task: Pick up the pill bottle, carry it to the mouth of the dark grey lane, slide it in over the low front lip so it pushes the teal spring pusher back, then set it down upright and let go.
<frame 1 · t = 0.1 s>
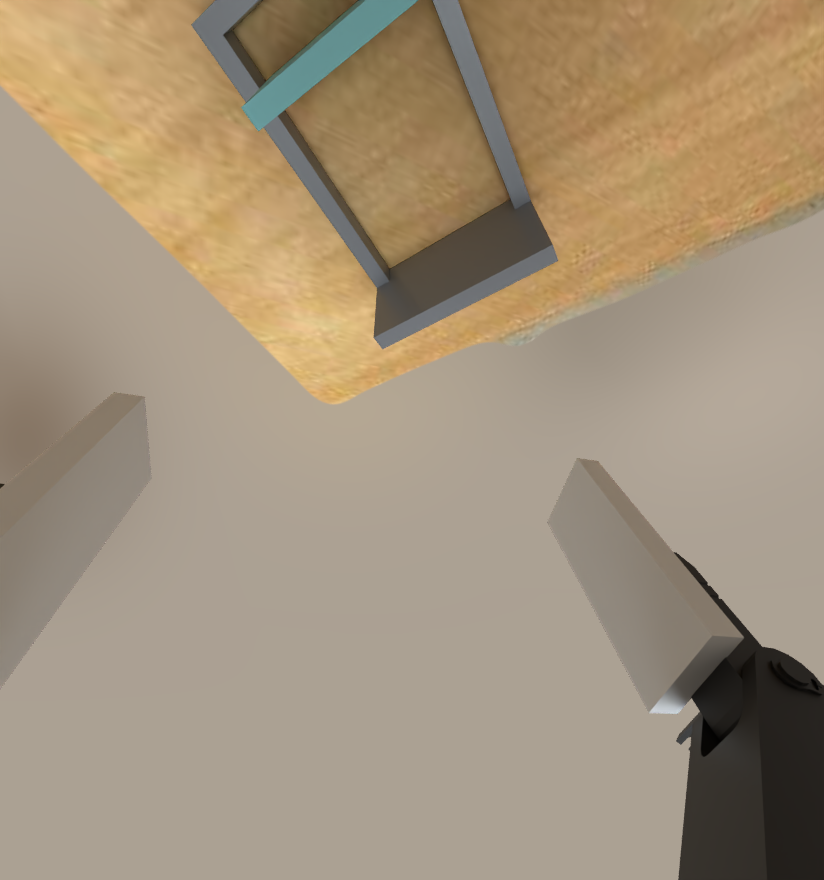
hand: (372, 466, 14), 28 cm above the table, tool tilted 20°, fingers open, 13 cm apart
lane: (388, 124, 30), on the table
pusher: (332, 44, 24), point 4 cm above the table, slide at 0.0 cm
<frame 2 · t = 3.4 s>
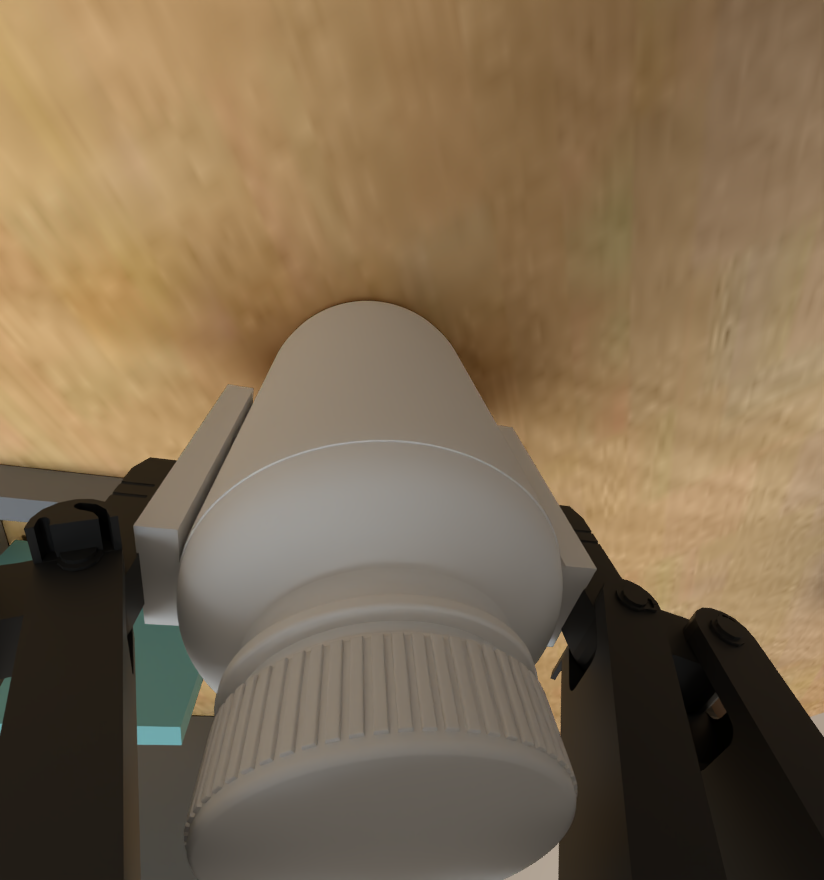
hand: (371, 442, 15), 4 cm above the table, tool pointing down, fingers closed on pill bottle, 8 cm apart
lane: (143, 625, 25), on the table
pill bottle: (370, 389, 19), on the table, touching gripper
pusher: (88, 629, 18), point 4 cm above the table, slide at 0.0 cm
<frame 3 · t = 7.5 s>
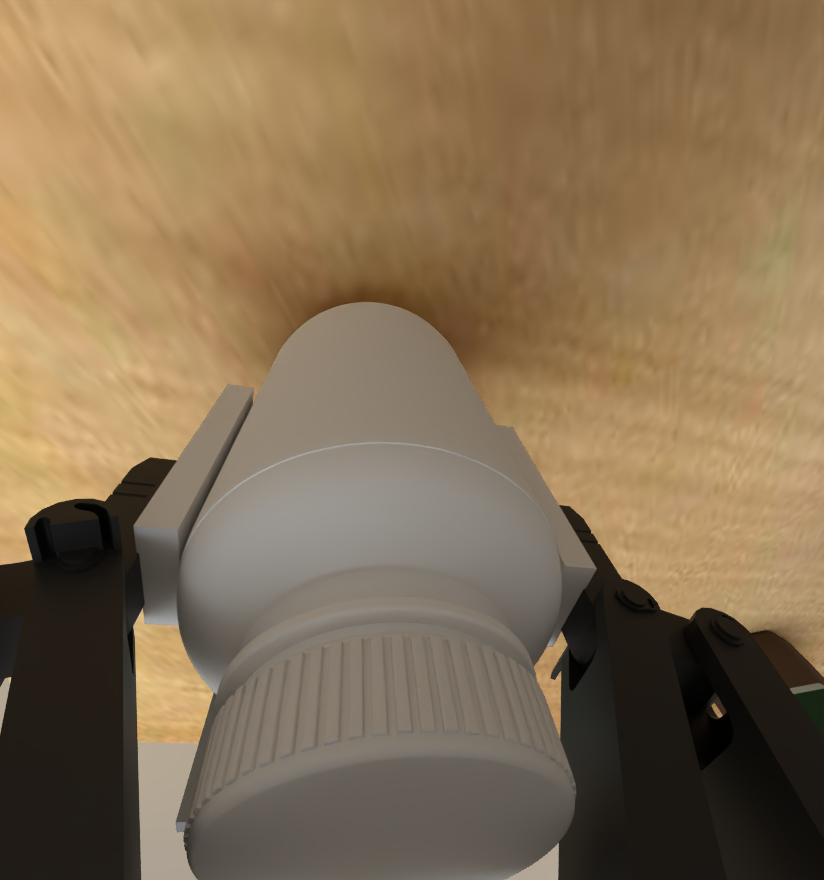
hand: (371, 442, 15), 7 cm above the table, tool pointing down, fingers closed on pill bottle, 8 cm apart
lane: (331, 586, 29), on the table
beer bottle: (740, 656, 38), on the table
pill bottle: (370, 390, 19), point 3 cm above the table, touching gripper
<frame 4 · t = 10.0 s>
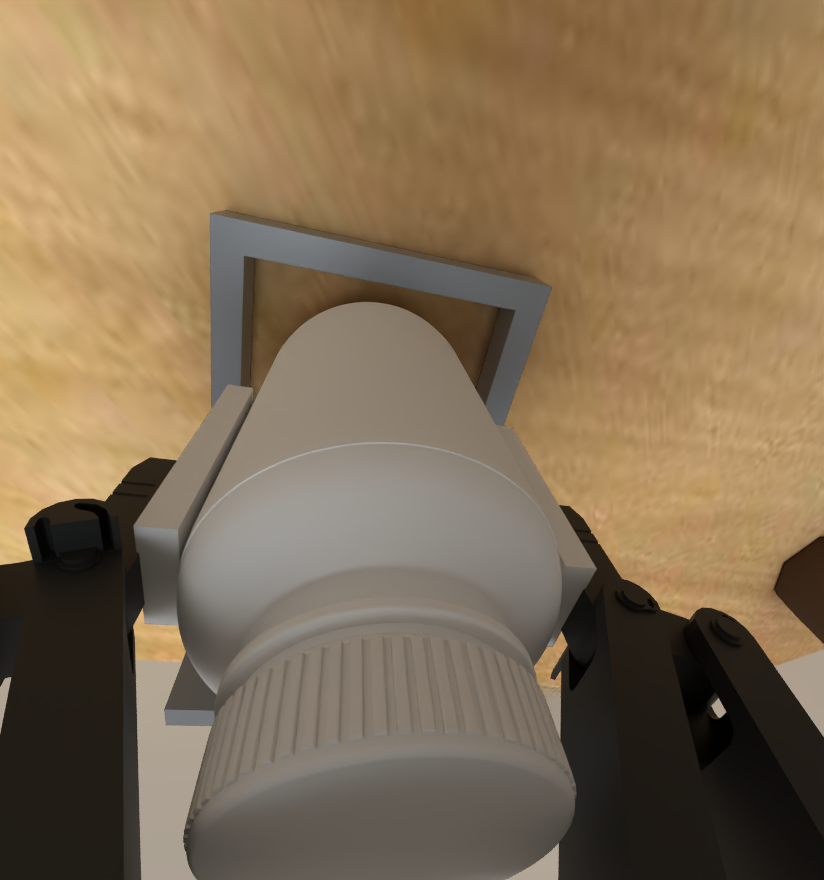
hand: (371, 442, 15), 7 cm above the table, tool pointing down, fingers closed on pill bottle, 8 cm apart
lane: (355, 445, 24), on the table
beer bottle: (822, 565, 33), on the table
pill bottle: (370, 390, 19), point 3 cm above the table, touching gripper
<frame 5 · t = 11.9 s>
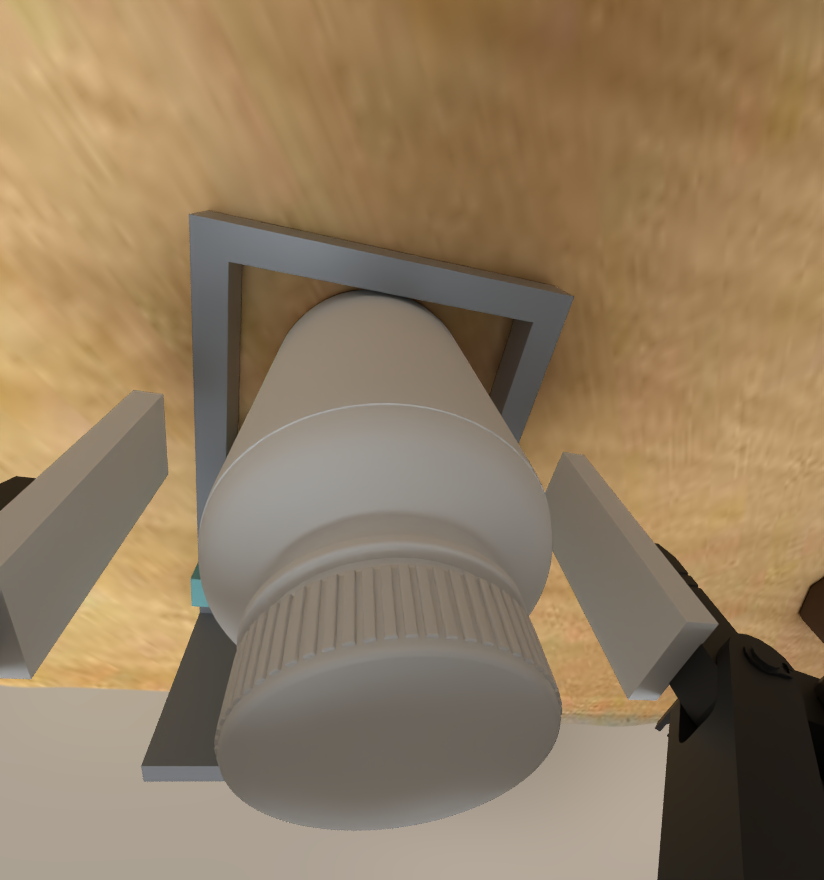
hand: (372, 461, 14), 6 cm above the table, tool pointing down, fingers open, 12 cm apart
lane: (355, 466, 22), on the table
pusher: (353, 522, 18), point 4 cm above the table, slide at 5.2 cm, touching pill bottle
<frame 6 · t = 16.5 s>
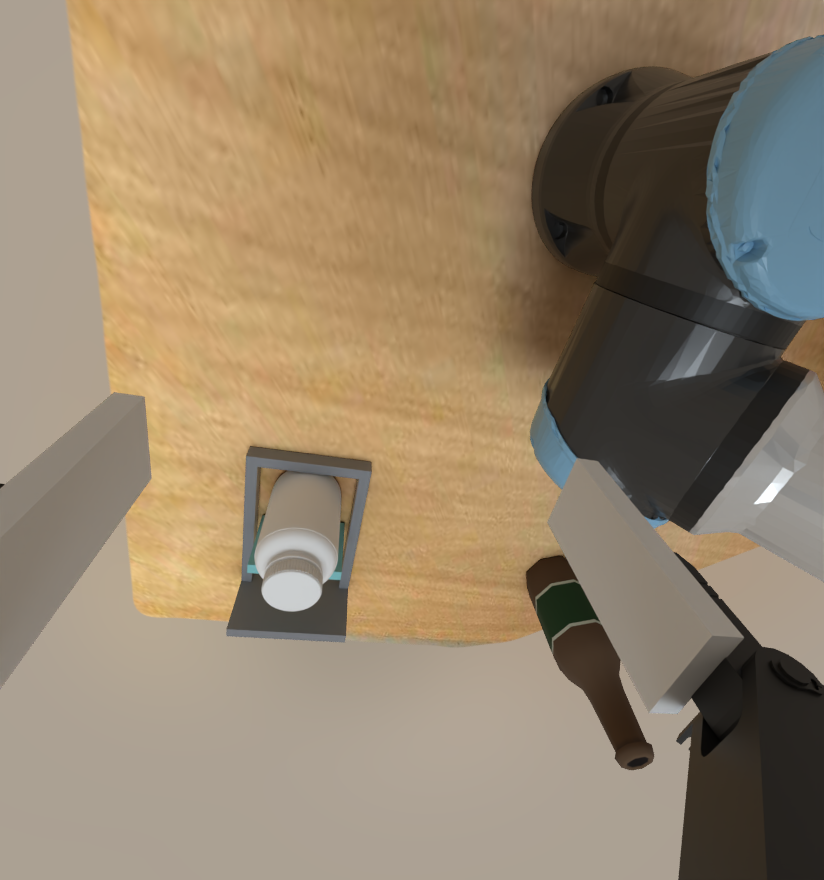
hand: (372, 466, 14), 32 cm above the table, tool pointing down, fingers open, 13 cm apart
lane: (304, 522, 55), on the table
beer bottle: (549, 573, 64), on the table
pill bottle: (308, 490, 53), on the table
pusher: (299, 546, 51), point 4 cm above the table, slide at 5.2 cm
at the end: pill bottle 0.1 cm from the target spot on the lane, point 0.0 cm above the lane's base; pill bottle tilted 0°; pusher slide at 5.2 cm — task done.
